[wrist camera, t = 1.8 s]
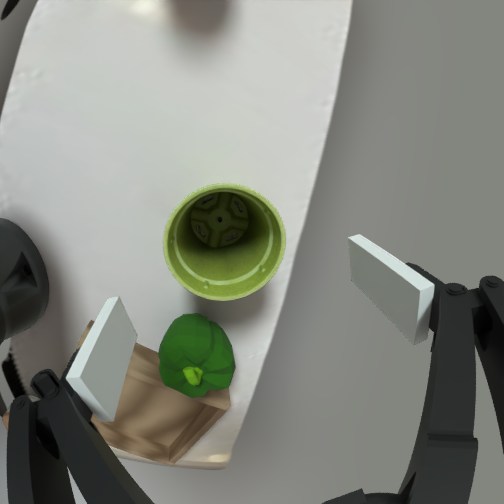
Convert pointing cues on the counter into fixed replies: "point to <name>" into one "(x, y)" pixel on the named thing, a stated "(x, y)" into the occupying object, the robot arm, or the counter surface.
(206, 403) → the walnut tray
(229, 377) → the bell pepper
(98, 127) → the counter surface
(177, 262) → the plant pot
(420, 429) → the robot arm
